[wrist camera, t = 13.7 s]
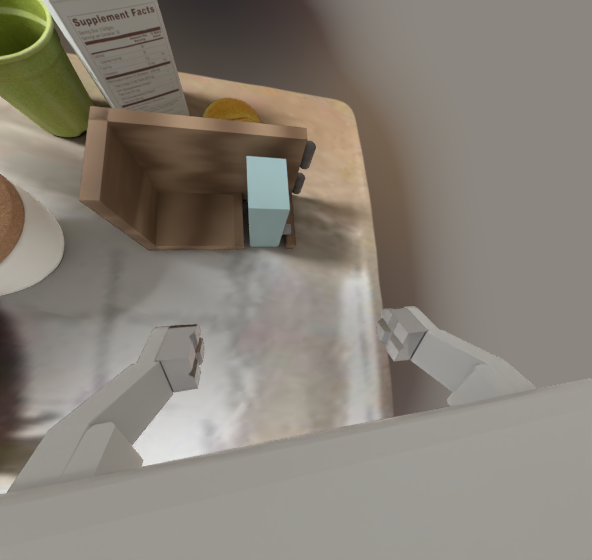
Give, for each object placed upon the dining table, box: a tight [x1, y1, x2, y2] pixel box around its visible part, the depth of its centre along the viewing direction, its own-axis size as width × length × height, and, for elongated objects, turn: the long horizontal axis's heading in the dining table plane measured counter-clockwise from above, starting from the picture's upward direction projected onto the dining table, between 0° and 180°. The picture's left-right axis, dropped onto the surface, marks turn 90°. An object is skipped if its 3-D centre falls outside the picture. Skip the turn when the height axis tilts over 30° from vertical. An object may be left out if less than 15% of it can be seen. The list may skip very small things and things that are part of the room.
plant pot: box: [0, 0, 95, 137], centre depth 21 cm, size 9×9×9 cm
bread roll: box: [203, 98, 260, 123], centre depth 27 cm, size 8×9×4 cm
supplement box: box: [42, 0, 190, 116], centre depth 21 cm, size 7×7×13 cm
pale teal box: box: [246, 156, 291, 247], centre depth 23 cm, size 5×5×9 cm
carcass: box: [79, 106, 316, 250], centre depth 22 cm, size 18×8×10 cm, turn 95°
